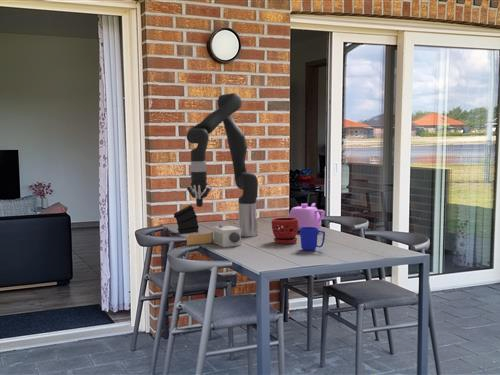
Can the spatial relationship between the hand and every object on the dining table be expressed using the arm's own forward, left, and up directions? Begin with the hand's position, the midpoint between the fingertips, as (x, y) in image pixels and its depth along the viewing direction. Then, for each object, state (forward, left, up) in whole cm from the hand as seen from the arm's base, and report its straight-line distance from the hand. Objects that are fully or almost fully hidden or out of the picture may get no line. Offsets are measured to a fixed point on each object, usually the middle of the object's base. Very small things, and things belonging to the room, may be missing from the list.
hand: (199, 206), depth 276 cm
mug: (-42, +34, -19) cm, 58 cm away
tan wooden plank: (-1, -4, -19) cm, 20 cm away
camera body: (-13, +2, -19) cm, 23 cm away
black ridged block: (-6, -40, -19) cm, 45 cm away
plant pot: (-40, +11, -19) cm, 46 cm away
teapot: (-67, -16, -19) cm, 72 cm away
